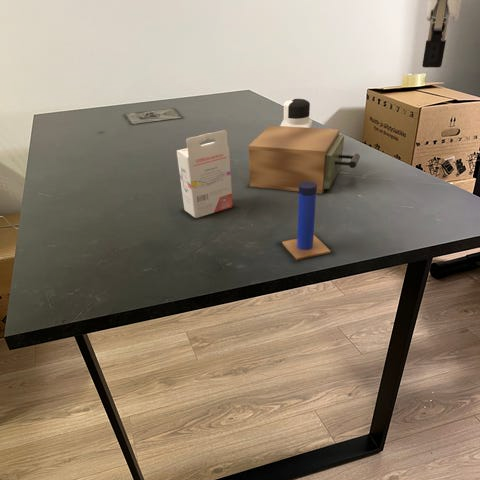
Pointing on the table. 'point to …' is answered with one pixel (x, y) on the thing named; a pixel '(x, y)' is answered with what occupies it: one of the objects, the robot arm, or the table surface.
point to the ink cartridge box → (205, 174)
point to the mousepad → (153, 116)
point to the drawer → (336, 161)
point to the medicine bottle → (297, 114)
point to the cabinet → (289, 157)
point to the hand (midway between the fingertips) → (431, 66)
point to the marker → (306, 215)
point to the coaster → (302, 254)
